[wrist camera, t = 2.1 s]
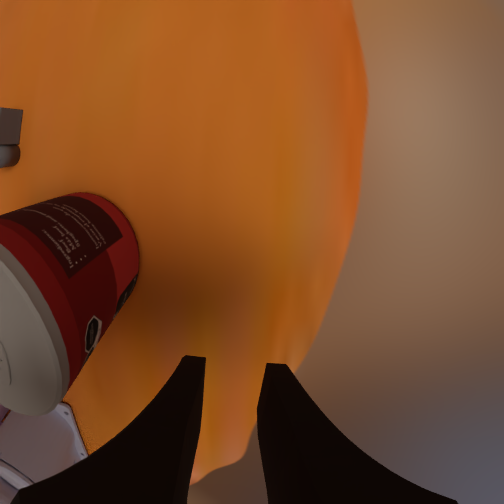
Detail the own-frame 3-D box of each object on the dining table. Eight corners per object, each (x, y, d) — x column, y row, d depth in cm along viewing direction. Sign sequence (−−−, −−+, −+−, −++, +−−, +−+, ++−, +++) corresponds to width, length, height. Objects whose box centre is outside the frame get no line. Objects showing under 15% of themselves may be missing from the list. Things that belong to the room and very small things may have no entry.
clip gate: (37, 350, 20) (23, 366, 18) (24, 346, 20) (9, 361, 18) (24, 109, 15) (3, 107, 13) (9, 111, 15) (-12, 109, 13)
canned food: (68, 314, 20) (-13, 412, 9) (31, 209, 17) (-88, 259, 7) (160, 296, 19) (101, 422, 9) (123, 174, 17) (1, 204, 7)
